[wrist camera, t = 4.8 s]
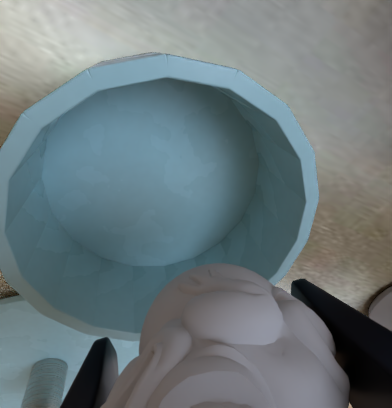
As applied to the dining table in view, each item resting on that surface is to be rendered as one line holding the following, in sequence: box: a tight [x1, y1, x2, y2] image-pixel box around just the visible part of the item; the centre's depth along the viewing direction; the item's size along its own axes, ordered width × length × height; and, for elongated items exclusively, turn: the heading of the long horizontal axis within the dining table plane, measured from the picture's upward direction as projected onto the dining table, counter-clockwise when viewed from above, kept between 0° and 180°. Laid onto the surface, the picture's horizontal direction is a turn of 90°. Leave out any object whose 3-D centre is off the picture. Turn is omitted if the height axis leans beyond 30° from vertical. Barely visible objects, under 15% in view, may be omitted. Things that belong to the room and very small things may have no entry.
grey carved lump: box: [100, 263, 350, 408], centre depth 8 cm, size 6×7×7 cm
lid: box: [0, 295, 140, 408], centre depth 20 cm, size 15×15×6 cm
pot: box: [0, 52, 319, 342], centre depth 15 cm, size 14×15×6 cm
